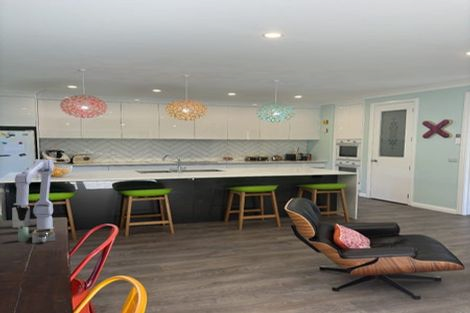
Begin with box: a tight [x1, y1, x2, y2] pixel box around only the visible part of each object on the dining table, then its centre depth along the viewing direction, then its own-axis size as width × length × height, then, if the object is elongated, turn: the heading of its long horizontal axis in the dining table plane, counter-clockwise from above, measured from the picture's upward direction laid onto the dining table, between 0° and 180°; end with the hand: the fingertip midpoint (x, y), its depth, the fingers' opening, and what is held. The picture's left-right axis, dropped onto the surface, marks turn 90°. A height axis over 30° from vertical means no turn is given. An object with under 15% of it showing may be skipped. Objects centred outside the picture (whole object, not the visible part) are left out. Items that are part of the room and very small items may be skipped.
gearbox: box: [31, 228, 56, 244], centre depth 204 cm, size 20×11×4 cm, turn 29°
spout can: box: [17, 226, 30, 243], centre depth 201 cm, size 5×5×8 cm
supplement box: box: [11, 206, 31, 229], centre depth 236 cm, size 7×7×13 cm
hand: (21, 220), depth 200 cm, fingers open, 7 cm apart
